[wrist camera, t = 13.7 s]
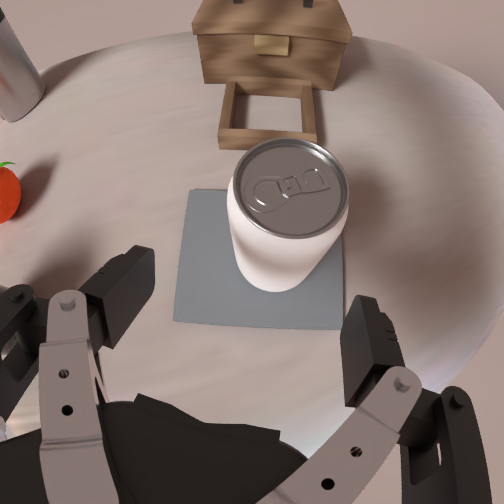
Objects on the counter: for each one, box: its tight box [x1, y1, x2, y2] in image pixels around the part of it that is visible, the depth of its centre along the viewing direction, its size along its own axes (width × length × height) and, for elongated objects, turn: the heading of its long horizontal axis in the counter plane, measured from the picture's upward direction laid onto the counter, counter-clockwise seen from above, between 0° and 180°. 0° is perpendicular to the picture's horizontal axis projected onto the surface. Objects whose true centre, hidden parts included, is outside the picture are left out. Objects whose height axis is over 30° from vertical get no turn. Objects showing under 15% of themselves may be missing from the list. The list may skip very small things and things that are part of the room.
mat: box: [173, 190, 343, 330], centre depth 25 cm, size 14×12×1 cm
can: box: [227, 137, 350, 292], centre depth 19 cm, size 6×6×12 cm
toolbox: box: [192, 0, 352, 150], centre depth 26 cm, size 17×22×13 cm
